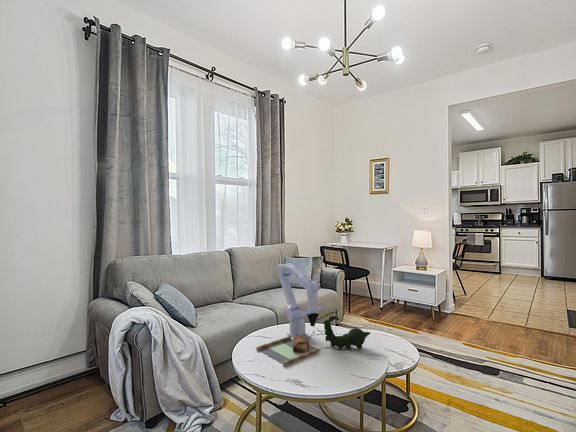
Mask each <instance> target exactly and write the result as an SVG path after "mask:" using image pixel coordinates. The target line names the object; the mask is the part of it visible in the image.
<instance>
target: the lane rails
mask: <svg viewBox="0 0 576 432" xmlns="http://www.w3.org/2000/svg"><path fill="white" fill-rule="evenodd" d="M291 339H292V336H290V335H287V336H285V337H282V338H279V339H276V340H272V341H270V342H267V343H265V344H261V345H258V346H256V351H257V352H260V351H259V350H262V349H265V348H268V347H271V346H274V345H277V344H279V343H282V342H285V341H288V340H291ZM316 348H317V349H315V350H312V351H310V352H307V353H305V354H302V355H299V356H297V357H294V358H292V359H289V360H287V361H284V362H283V364H282V366H283V367H287V366H290V365H293V364H295V363H297V362H300V361H302V360H304V359H307V358H310V357H311V356H314V355H317V354H319V353H320V351H319V348H318V347H316ZM316 353H317V354H316Z"/></svg>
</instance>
